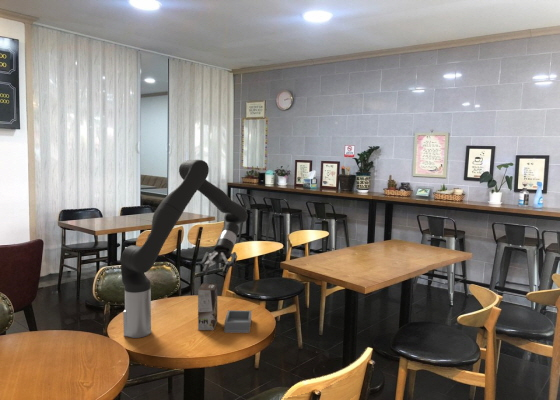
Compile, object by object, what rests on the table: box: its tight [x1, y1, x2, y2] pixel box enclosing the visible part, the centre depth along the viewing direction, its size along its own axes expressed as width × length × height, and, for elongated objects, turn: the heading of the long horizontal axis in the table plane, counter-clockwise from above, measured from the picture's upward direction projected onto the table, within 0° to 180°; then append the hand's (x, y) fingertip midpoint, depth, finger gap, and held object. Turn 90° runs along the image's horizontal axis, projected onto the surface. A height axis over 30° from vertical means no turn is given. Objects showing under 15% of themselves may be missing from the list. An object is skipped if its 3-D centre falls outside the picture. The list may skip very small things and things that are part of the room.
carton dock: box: [223, 309, 252, 334], centre depth 174 cm, size 10×13×4 cm
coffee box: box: [197, 282, 218, 331], centre depth 173 cm, size 9×6×16 cm
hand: (214, 273), depth 177 cm, fingers open, 8 cm apart
